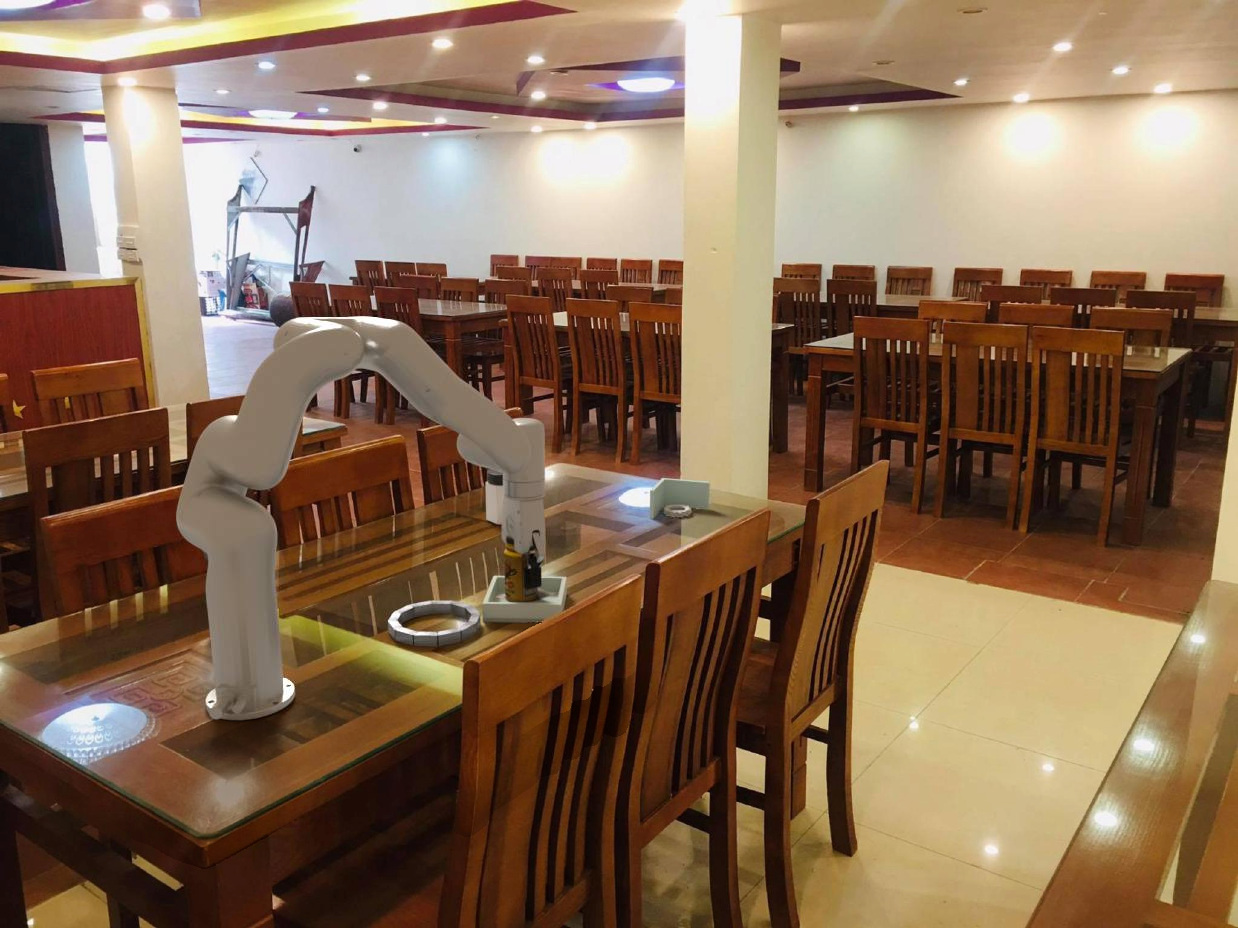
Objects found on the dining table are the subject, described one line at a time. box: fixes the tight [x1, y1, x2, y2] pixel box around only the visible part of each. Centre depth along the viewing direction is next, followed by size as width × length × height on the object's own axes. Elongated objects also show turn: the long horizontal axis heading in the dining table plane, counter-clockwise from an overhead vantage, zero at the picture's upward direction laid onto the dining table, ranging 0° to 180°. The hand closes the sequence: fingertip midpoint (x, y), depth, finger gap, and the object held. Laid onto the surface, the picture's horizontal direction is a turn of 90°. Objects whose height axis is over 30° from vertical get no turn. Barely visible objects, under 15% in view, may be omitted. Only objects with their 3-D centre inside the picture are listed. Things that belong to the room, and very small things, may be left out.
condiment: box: [495, 535, 556, 603], centre depth 184 cm, size 7×8×12 cm
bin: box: [481, 575, 568, 624], centre depth 186 cm, size 14×14×4 cm
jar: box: [485, 468, 504, 525], centre depth 238 cm, size 9×8×12 cm
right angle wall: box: [649, 477, 711, 520], centre depth 244 cm, size 12×12×8 cm
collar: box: [387, 599, 481, 648], centre depth 177 cm, size 16×16×2 cm
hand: (525, 580), depth 185 cm, fingers closed on condiment, 6 cm apart
